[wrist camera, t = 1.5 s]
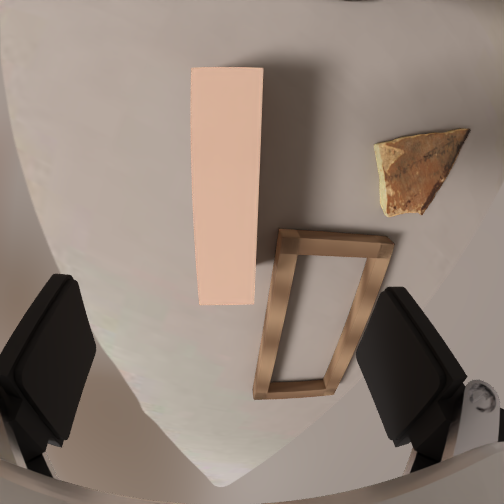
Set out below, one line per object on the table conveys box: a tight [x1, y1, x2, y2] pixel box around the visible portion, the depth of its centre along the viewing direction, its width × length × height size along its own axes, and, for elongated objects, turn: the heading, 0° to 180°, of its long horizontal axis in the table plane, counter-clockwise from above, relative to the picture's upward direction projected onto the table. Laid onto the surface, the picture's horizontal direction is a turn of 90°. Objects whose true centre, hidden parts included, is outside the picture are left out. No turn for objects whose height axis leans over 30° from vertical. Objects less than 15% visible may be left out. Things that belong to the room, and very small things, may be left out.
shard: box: [374, 128, 470, 217], centre depth 23 cm, size 11×8×2 cm
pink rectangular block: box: [191, 67, 263, 305], centre depth 21 cm, size 16×4×6 cm, turn 178°
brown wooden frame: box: [253, 229, 395, 400], centre depth 30 cm, size 22×10×2 cm, turn 174°
